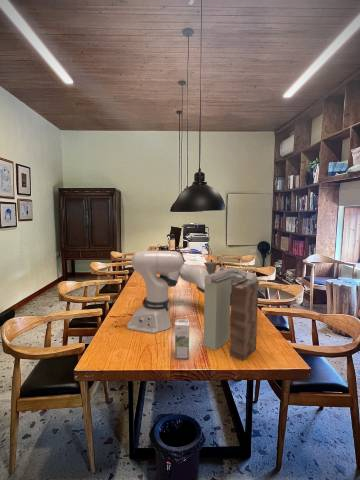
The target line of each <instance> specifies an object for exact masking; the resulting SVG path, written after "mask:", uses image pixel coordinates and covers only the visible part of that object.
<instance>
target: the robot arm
mask: <svg viewBox="0 0 360 480" xmlns="http://www.w3.org/2000/svg"><path fill="white" fill-rule="evenodd" d="M184 257H185V256H183V254H182V253H181V252H178V251H176V250H175V251H174V250H141V251H137V252H134V253H133V255H132V257H131V262H130V263H131V266H132V268H133V270H134V271H135V272H137V274H138V275H140V276H141V277H142V279H143V281H144V285H145V290H146V293H145V294H146V296H145V297H144V298H143V300H142V303H141V306H140V307H138V308H137V309H136V310H134V313H133V314H132V317H131V319H130V320H129V321H128V322H127V325H126V327H127V329H128V330H132V331H138V332H142V333H148V334H156V333H159V332H163V331H166V330H169V329H170V328H171V327H172V321H171V318H170V298H169V288H172V287H173V288H174V287H176V286H177V284H178V283H179V282H178V281H179V278H180V279H181V280H183V281H185V282H188V283H190V284H195V286H196V289H197V290H198V291H199V292H201V293H203V294H204V285H205V276H206V275H209V274H208V271H207V268H205V267H204V266H200V265H193V264H186V262H187V260H185V258H184ZM226 269H227V268H224V267H223V266H221V267H220V268H219V267H216V271H215V273H216V272H219V271H222V270H226ZM157 275H159V276H157ZM244 279H248V280H247V281H248V282H255V281H259V283H260V280H259V279H258V276H257V274H255V273H254V272H249V271H245V270H243V269H237V275H235V276H232V277H231V291H232V284H234V283H236V282H239V281H241V280H244ZM231 291H230V307H231Z"/></svg>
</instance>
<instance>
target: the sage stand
mask: <svg viewBox="0 0 360 480" xmlns="http://www.w3.org/2000/svg"><path fill="white" fill-rule="evenodd" d="M230 291H231V276H227V277H224V278H222V279H219V280H216V281H215V282H214V283H213V284H208V283H205V285H204V293H203V294H204V296H203V297H204V298H203V302H204V303H203V347H205V348H208V349H211V350H213V351H216V350H217V349H219V348H220V347H222V346H223V345H225V344H226V343H228V342H230V328H231V306H230Z"/></svg>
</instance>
